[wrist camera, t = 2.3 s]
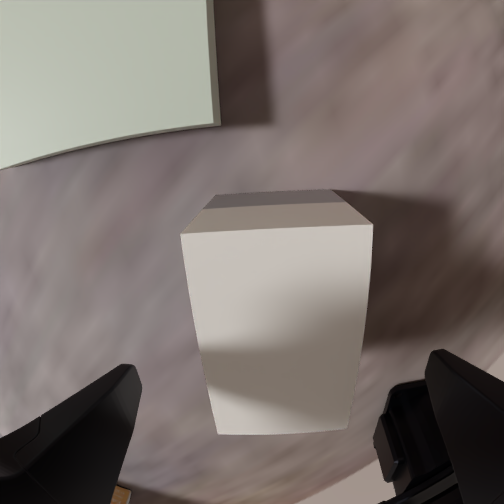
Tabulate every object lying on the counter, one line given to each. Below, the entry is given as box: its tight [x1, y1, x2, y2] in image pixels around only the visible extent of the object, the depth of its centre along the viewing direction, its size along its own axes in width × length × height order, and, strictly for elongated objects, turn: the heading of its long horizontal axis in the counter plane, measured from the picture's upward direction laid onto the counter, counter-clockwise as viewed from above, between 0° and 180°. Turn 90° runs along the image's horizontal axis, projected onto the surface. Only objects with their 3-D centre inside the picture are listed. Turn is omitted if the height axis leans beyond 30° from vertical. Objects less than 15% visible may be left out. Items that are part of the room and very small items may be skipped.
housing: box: [180, 189, 373, 435], centre depth 12 cm, size 5×8×6 cm, turn 4°
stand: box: [0, 0, 221, 170], centre depth 10 cm, size 12×12×2 cm
